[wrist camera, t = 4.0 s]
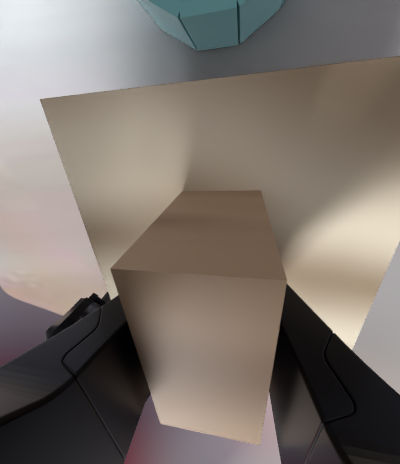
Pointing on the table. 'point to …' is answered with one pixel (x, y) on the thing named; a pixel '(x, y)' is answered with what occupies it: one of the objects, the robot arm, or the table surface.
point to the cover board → (252, 147)
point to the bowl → (210, 19)
